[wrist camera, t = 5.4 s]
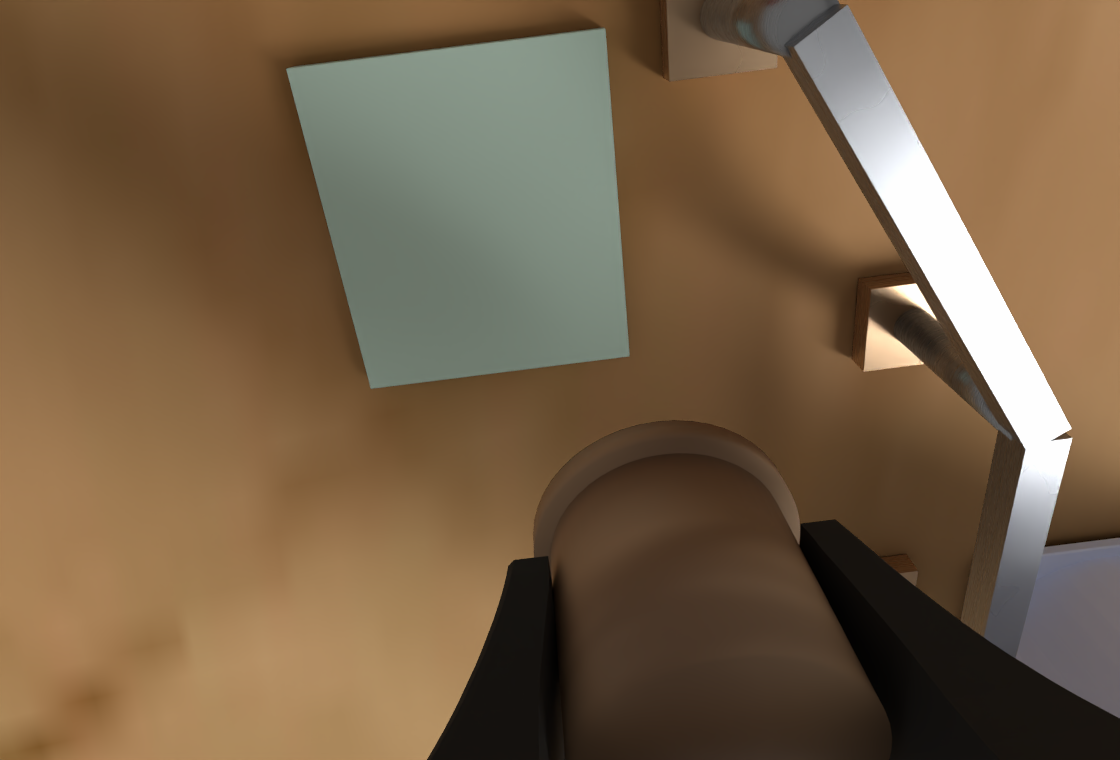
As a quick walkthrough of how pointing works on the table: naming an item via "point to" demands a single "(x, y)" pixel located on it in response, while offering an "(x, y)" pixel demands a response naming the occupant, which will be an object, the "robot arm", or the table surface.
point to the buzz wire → (909, 275)
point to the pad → (471, 204)
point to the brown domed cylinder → (695, 608)
